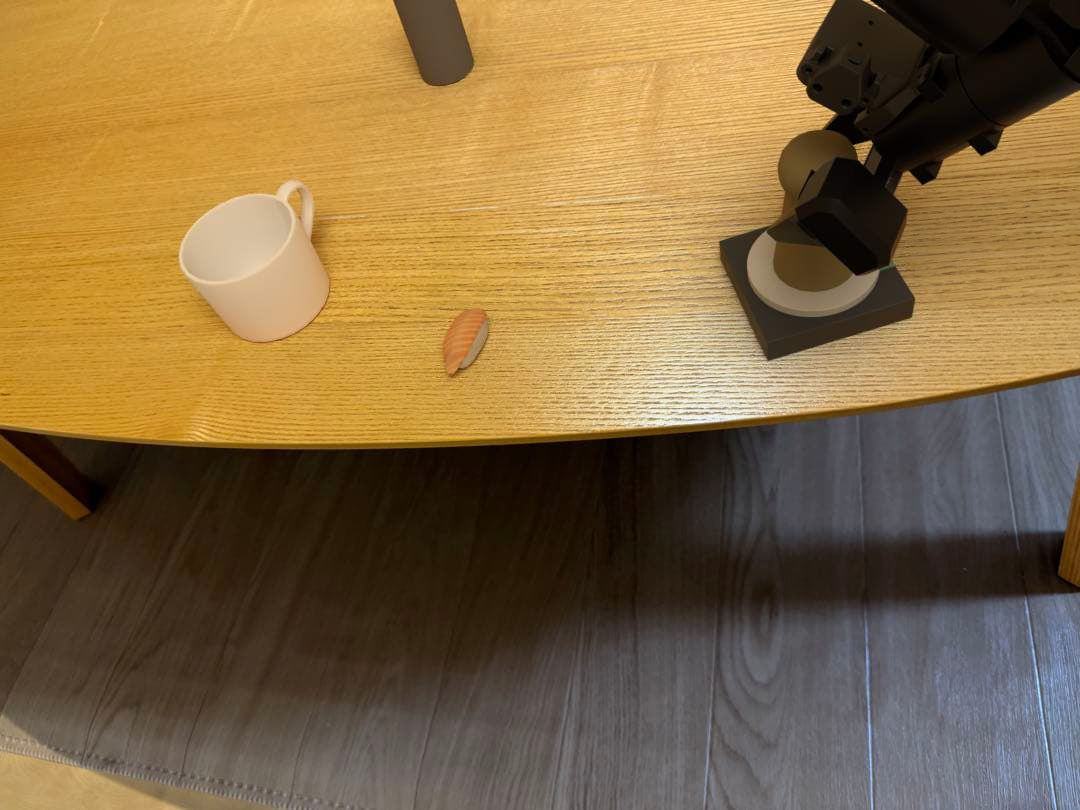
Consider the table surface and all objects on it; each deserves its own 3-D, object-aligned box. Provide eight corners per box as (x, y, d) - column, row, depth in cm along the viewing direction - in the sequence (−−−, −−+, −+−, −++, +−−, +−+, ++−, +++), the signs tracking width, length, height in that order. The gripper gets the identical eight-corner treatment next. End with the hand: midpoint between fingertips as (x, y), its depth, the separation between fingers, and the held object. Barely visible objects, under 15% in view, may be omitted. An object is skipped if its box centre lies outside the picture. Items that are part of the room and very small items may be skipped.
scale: (852, 218, 76) (854, 191, 73) (912, 317, 69) (916, 290, 67) (720, 259, 76) (718, 233, 74) (767, 361, 70) (767, 336, 67)
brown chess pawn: (842, 223, 72) (850, 106, 63) (868, 280, 68) (880, 164, 59) (763, 242, 72) (760, 129, 64) (785, 300, 69) (785, 188, 60)
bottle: (412, 84, 99) (360, -51, 87) (435, 49, 102) (388, -87, 90) (460, 88, 97) (414, -50, 85) (483, 52, 99) (441, -87, 87)
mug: (283, 362, 80) (239, 300, 74) (201, 325, 85) (152, 264, 78) (376, 252, 85) (342, 186, 79) (293, 223, 90) (255, 159, 84)
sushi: (498, 322, 78) (489, 299, 75) (468, 384, 75) (457, 362, 72) (470, 317, 79) (460, 294, 76) (439, 378, 76) (427, 356, 73)
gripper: (943, -123, 54) (761, 26, 67) (838, 85, 46) (655, 207, 59) (1062, 14, 57) (865, 131, 70) (983, 232, 49) (778, 316, 62)
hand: (794, 189), depth 65 cm, fingers open, 9 cm apart
